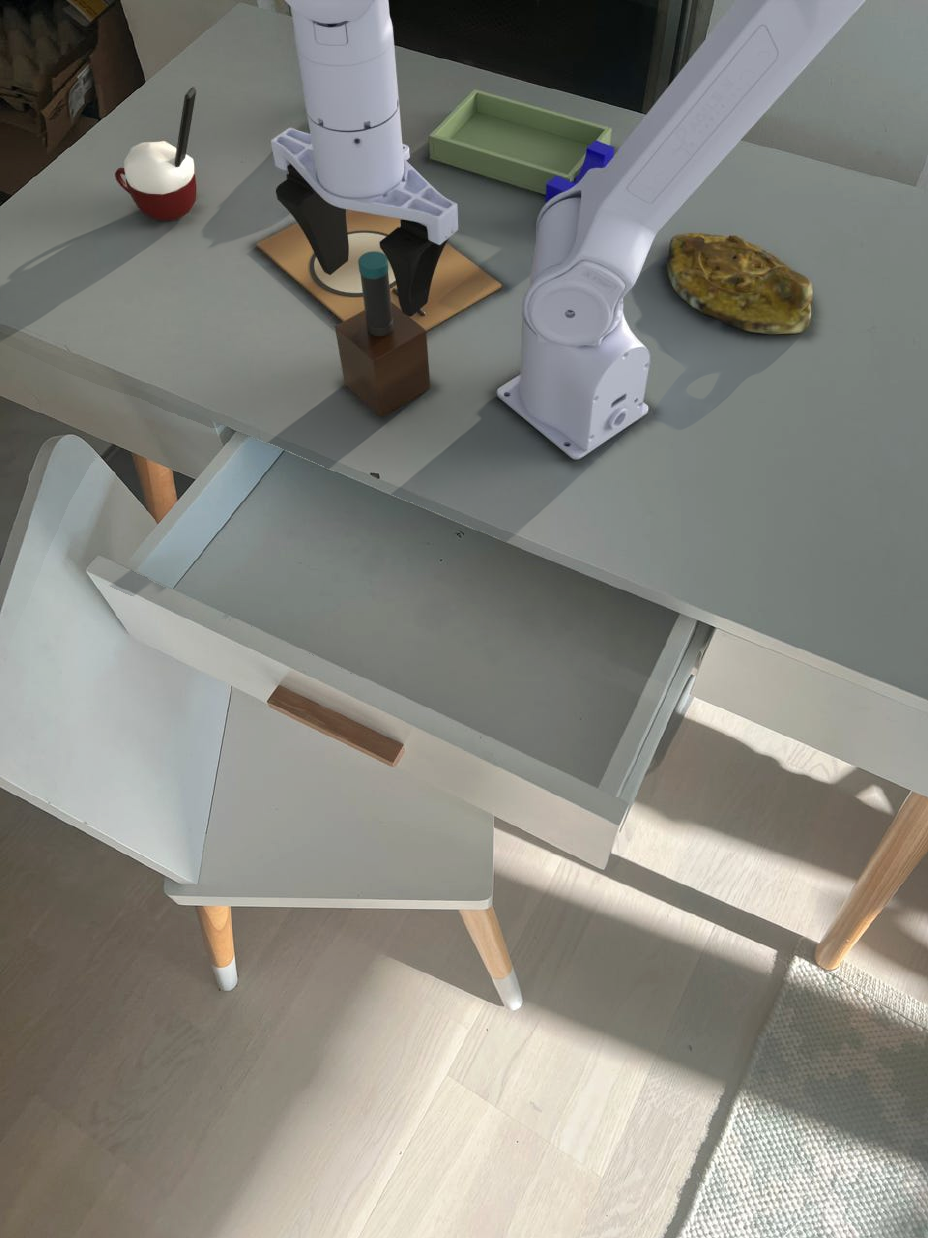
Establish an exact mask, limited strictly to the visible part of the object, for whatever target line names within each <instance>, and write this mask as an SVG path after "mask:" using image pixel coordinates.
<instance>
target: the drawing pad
mask: <svg viewBox="0 0 928 1238" xmlns="http://www.w3.org/2000/svg"><path fill="white" fill-rule="evenodd" d="M400 220H401V219H398V218H392V217H387V216H381V215H376V214H370V213H365V212H359V211H354V210H348V209H346V222H347V232H348V243H349V256H348V261H347V262H346V263H345V264H344V265H342V266H341V267H340V268H339V269H337V270H336V271H335V272H334V273H332V274H331V275H329V274H327V273H325V272H324V271H323V269H322V267H321V266H320V264H319V262H318V259H317V257H316V255H315V253H314V251H313V249H312V247H311V245H310V243H309V241H308V239H307V237H306V235H305V234H304V232H303V230H302V229H301V227H300V226H299V224H298V223H297V222H296V223H294V224H292V225H290V226H288V227H286V228H284V229H282V230H280V231H278V232H277V233H275V234H272V235H271V236H269V237H266V238H264V239H263V240H261V241H259V242H256V247H257V248H258V249H259V250H261V252H263V253H264V254H265V255H266V256H267V257H268V258H270V259H271V260H272V261H273V262H274V263H275V264H276V265H278V266H279V267H280V268H281V269H282V270H283V271H284V272H286V274H288V275H289V276H290V277H291V278H292V279H293V280H295V281H296V283H298V284H299V285H300V286H301V287H303V288H304V289H305V290H306V291H307V292H308V293H310V295H312V296H313V297H314V298H315V299H317V300H318V301H319V302H320V303H321V304H322V305H324V306H325V307H326V308H327V309H328V310H329V311H331V312H332V314H334V315H335V316H336V317H337V318H338V319H339V320H340V321H342V322H344V321H345V320H347V319H349V318H351V317H353V316H354V315H356V314H358V313H360V312H362V311H363V310H365V308H364V299H363V291H362V283H361V275H360V272H359V265H358V260H359V258H360V256H361V255H363V254H365V253H367V252H372V251H376V252H381V253H383V254H384V252H383V251H382V249H381V248H380V244H379V242H380V241H381V240H382V239H384V238H385V237H386V236H387V235H389V234H390V233H391V232H392V231H394V230H395V229H396V228H397V227H401V222H400ZM384 255H385V254H384ZM388 268H389V269H388V275H389V286H390V296H391V302H392V303H394V304H395V305H396V306H397V307H399V308H400V309H401V307H400V303H399V298H398V291H397V285H396V280H395V276H394V273H393V270H392V268H391V265H390V263H389V261H388ZM500 288H502V284H501V283H500V282H499V281H497V280H496V279H495V278H493V277H492V276H491V275H490V274H488V273H487V272H486V271H484V270H483V269H482V268H480V267H479V266H478V265H477V264H475V263H473V262H472V261H471V260H469V258H467V257H466V256H464V255H463V254H462V253H460V252H459V251H458V250H457V249H455V248H454V247H452V246H451V244H449V243H448V242H447V243H446V245H445V247H444V248H443V251H442V253H441V255H440V257H439V260H438V262H437V265H436V268H435V271H434V275H433V278H432V283H431V287H430V292H429V297H428V302H427V304H425V305H424V306H423V307H422V308H421V309H420V310H419V311H417V312H416V313H415V314H414V315H413V316H411V318H412V319H413V320H414V321H415V322H417V323H418V324H419V325H420V326H421V327H423V328H424V329H425V330H426V332H427V331H429V330H431V329H432V328H435V327H436V326H438V325H439V324H441V323H442V322H444V321H446V320H447V319H449V318H451V317H453V316H454V315H456V314H458V313H460V312H462V311H463V310H465V309H467V308H468V307H470V306H472V305H473V304H475V303H477V302H478V301H480V300H482V299H484V298H486V297H487V296H490V295H491V294H492V293H494V292H496V291H498V290H499V289H500ZM401 310H402V309H401Z"/></svg>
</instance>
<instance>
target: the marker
mask: <svg viewBox="0 0 928 1238" xmlns="http://www.w3.org/2000/svg"><path fill="white" fill-rule="evenodd" d="M358 265H359V272H360V275H361V283H362V291H363V299H364V308H365V316H366V324H367V330H368V332H369V333H370V334H372V335H374V336H385V335H388V334H389V333H391V332H392V330H393V317H392V307H391V296H390V286H389V275H388V269H389V268H388V259H387V257H386V255H384V254H383V253H381V252H376V251H372V252H367V253H365V254H363V255H361V256H360V258H359V260H358Z"/></svg>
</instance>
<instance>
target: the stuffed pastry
mask: <svg viewBox="0 0 928 1238" xmlns="http://www.w3.org/2000/svg"><path fill="white" fill-rule="evenodd" d="M668 247H669V249H668V255H667V263H666V270H667V276H668V280H669V282H670V284H671V286H672V288H673V289H674V291H675V293H676V294H677V295H678V296H679V297H680V298H681V299H682V300H683V301H685V302H686V303H687V304H688V305H690V306H691V307H692V308H693V309H696V310H697V311H699V312H700V313H701V314H705V315H707V316H709V317H712V318H715V319H717V320H719V321H721V322H723V323H725V324H727V325H730V326H731V327H735V328H738V329H740V330H743V331H746V332H751V333H758V334H765V335H786V334H787V335H788V334H791V335H792V334H800V333H802V332H805V331H806V330H807V329H808V327H809V325H810V322H811V318H812V308H811V307H812V306H811V301H812V300H813V295H814V294H813V293H814V291H813V282H812V281H810V280H809V279H808V277H806V276H805V275H804V274H801V273H799V272H797V271H795V270H794V269H792V268H791V267H790V266H788V265H787V264H786V263H785V262H783V261H782V260H781V259H780V258H778V257H776V256H775V255H774V254H773V253H771V252H769V251H767V250H765V249H763V248H761V247H760V246H758V245H756V244H753V243H751V242H748V241H745V238H743V237H741V236H738V235H736V234H729V236H727V235H721V234H709V233H702V232H686V233H681V234H680V233H679V234H675V235H674V236H672V238H670V242H669V246H668Z"/></svg>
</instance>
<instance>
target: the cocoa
mask: <svg viewBox="0 0 928 1238" xmlns="http://www.w3.org/2000/svg"><path fill="white" fill-rule="evenodd" d="M196 96H197V89H196V87H195V86H192V87H190V88H189V90H188V91H187V92H186V93H185V94H184V99H183V105H182V110H181V111H182V112H181V117H180V123H179V131H178V136H177V142H176V147H175V146H174V145H172V144H170V143H169V142H167V141H165V140H163V141H162V140H160V141H146V142H145V141H144V142H141V143H138V144H136V145H134V146H131V148H130V150H129V151H128V154H127V156H126V157H125V158H124V160H123V167H118V168H117V169H116V171H114V177H115V180H116V182H117V183H118V185H119V186H120V187H121V188H122V189H123V190H124V191H125V192H127V193H128V194H129V195H130V196H131V198H132V201H133V202H134V203H135V205H136V207H137V208H138V209H139V210H140V211H141V212H142V213H143V214H144V215H145V216H147V217H148V218H150V219H154V220H156V221H168V222H170V221H175V220H178V219H181V218H182V217H184V216H186V215H187V214H189V212H190V211H191V210H192V208H193V206H194V205H195V203H196V201H197V178H196V172H195V161H194V158H193V157H191V156H190V155H188V154H187V149H188V143H189V137H190V132H191V126H192V121H193V114H194V107H195V102H196ZM122 175H123V176H125V180H124V179H123V177H122Z"/></svg>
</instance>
